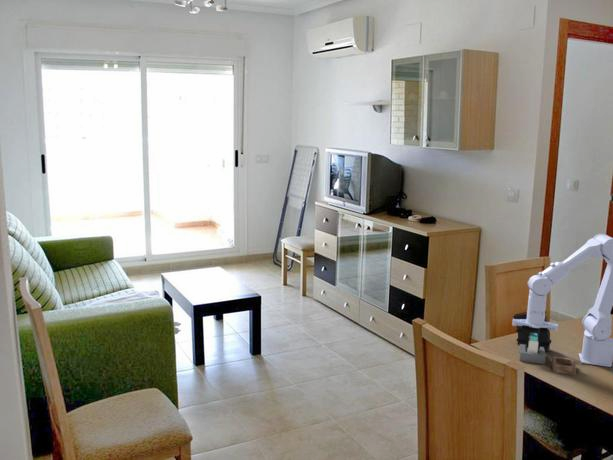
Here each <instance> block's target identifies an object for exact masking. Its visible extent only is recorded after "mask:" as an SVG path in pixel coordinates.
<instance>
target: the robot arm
mask: <svg viewBox="0 0 613 460" xmlns="http://www.w3.org/2000/svg"><path fill="white" fill-rule="evenodd" d="M590 258H603V260H604V261H605V263H607V264H606V268H605V270H604V274H603V275H602V276H603V277H602V279H601V283H600V286H599V289H598V292H597V295H596V298H595V300H594V304H593V306H592V307H591V308H589V309H588V311H587V313H586V315H585V316H584V317H583V319H582V321H581V324H582V327H583V328H584V332H583V339H582V340H583V341H582V348H581V352H579V353H578V356H579V360H580V362H581V364H586V365H587V364H588V365H594V366H595V365H596V366H601V367H608V368H612V367H613V338H612V337H610V336H611V335H612V332H613V330H612V322H613V319H612V315H611V312H612V309H613V237H611V236H609V235H608V234H605V233H598V234H595V236H593V238H592V237H591V238H589V239H587V241H586V242H585V244H583V245H582V246H580V247H579V248H578V249H577V250H576V251H574V252H573V253H572V254H571V255H569V256H568V257H567V258H565V259H564V260H563V261H556V262H551V263H549V265H550V266H548V267H546V268H545V269H544V270H542V271H539V272H538V273H537V274H535V275H532V276H531V277H530V278H529V279H528V281H527V283H526V284H527V287H528V288H529V290H528V291H529V292H528V300H527V311H526V312H527V319H514V318H513V319H512V321H511V322H512V323H511V325H512V327H517V326H522V331H523V334H524V336H525V340H526V348H528V345H529V332H530V330H529V329H530V328H529V327H532V328H539V336H538V349H540V345H541V343H542V341H543V339H544V338H545V336H546V335H547V333H548V329H549V330H550V331H554V332H558V330H559V324H558V323H554V322H549V321H548V322H545V321H544V319H545V310H546V308H547V296H548V294H549V293H550V291H551V289H552V287H553V286H554V285H556V284H558V283H559V282H560V281H562V280H563V279H565V278H566V277H567V276H569V272H570V270H572V269H573V268H575V267H576V266H579V265H580V264H582V263H583V262H585V261H587V260H588V259H590ZM611 366H612V367H611Z"/></svg>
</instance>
